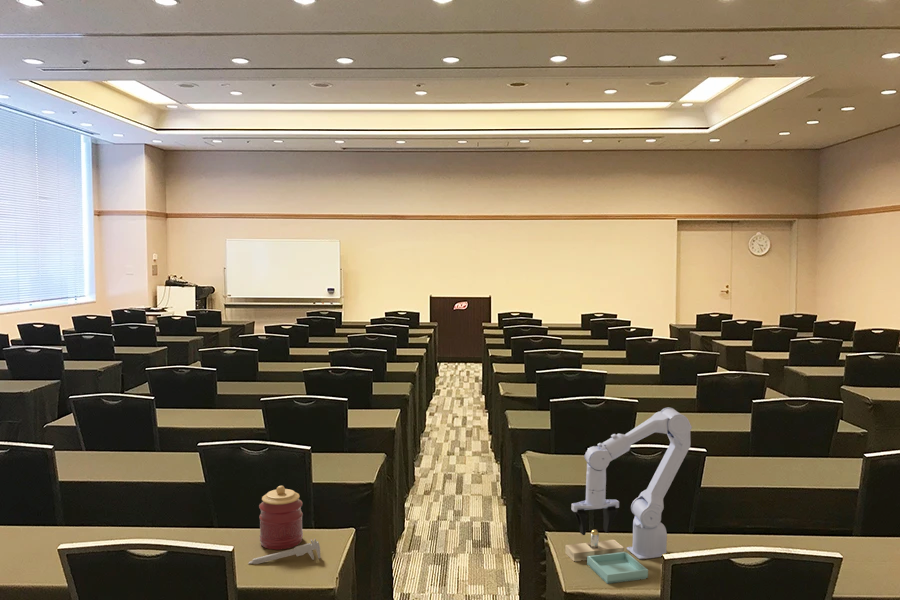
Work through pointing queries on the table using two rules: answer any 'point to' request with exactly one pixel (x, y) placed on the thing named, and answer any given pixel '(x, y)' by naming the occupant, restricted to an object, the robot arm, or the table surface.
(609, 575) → the tray
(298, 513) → the canister
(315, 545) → the caliper
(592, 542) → the pin
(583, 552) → the beige slotted block
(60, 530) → the table surface
